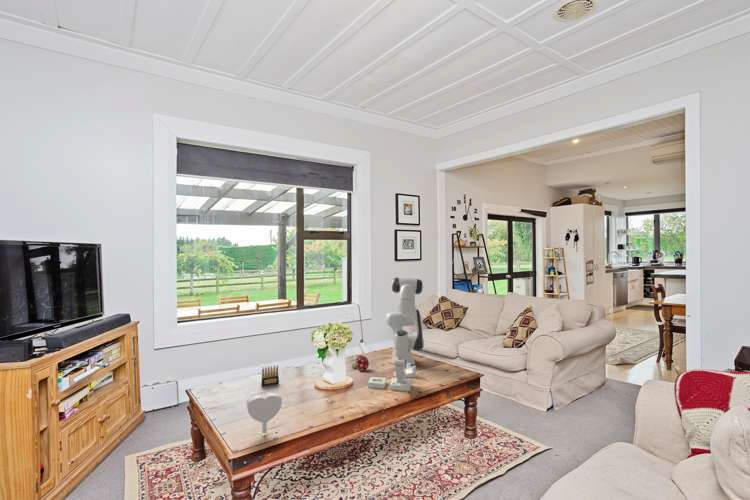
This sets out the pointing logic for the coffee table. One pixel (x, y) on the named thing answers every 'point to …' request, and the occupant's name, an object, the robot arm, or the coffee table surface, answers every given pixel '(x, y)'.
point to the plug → (402, 379)
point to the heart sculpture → (264, 408)
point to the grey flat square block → (377, 382)
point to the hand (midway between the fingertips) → (401, 380)
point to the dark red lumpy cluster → (361, 363)
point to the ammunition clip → (270, 376)
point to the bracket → (409, 371)
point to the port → (401, 385)
